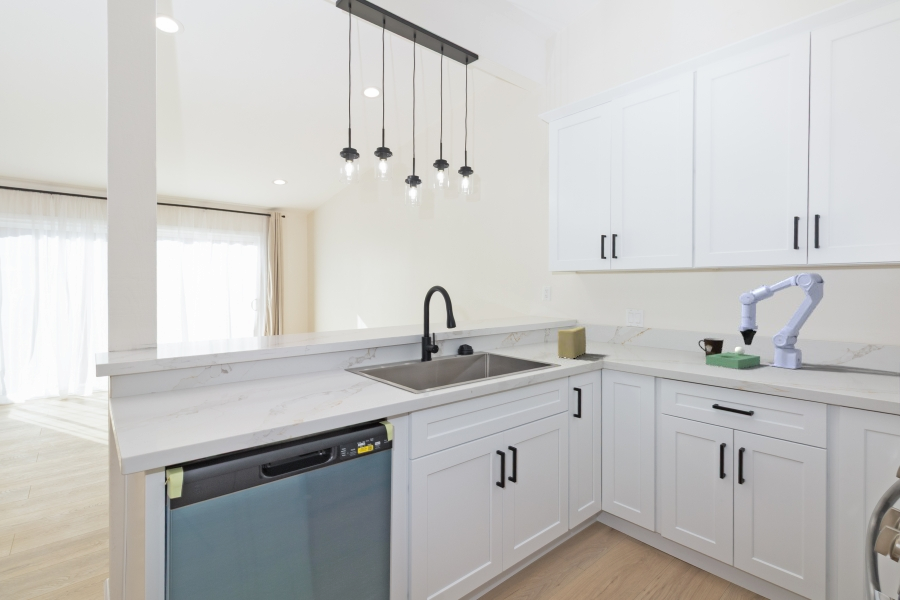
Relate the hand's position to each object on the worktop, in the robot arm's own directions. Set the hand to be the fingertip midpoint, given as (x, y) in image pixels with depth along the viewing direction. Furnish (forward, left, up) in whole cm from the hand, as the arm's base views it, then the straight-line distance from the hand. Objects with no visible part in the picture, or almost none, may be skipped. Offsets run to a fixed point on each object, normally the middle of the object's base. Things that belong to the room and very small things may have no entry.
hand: (747, 344), depth 207 cm
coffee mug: (+15, +4, -9) cm, 18 cm away
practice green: (0, +14, -8) cm, 16 cm away
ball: (0, +8, -2) cm, 8 cm away
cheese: (+57, +58, -9) cm, 82 cm away
